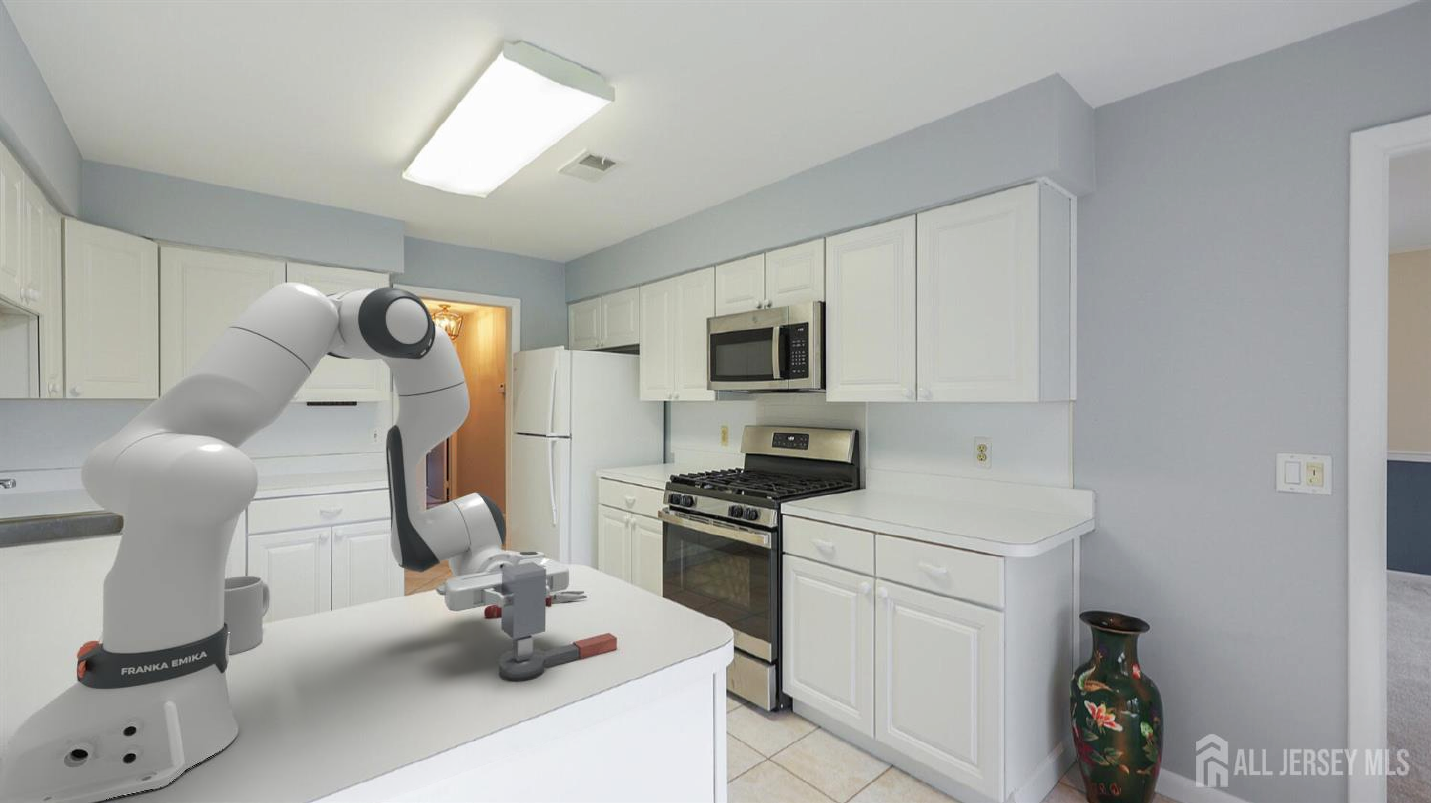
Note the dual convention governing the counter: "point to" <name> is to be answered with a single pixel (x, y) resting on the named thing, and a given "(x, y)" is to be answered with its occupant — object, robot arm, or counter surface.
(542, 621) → the grey square pillar
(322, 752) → the counter surface
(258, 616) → the mug
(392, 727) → the counter surface
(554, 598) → the pliers
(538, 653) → the ratchet
